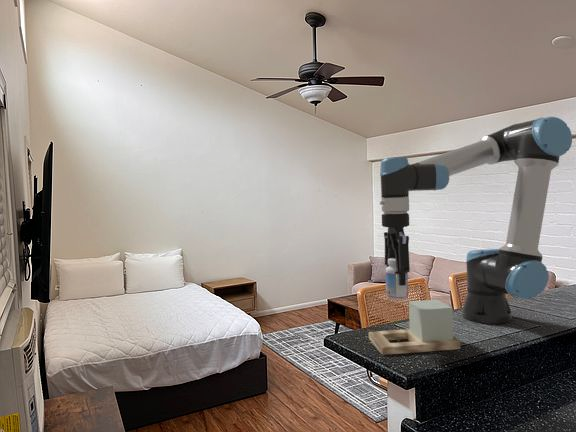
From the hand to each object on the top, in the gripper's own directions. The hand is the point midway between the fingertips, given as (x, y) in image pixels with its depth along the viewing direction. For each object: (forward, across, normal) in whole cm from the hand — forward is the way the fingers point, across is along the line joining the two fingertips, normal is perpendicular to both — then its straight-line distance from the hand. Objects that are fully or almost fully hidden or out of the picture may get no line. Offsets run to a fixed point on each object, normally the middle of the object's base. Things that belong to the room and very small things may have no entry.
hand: (397, 293), depth 119 cm
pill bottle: (+2, 0, 0) cm, 2 cm away
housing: (+13, 0, +10) cm, 16 cm away
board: (+15, 0, +4) cm, 15 cm away
